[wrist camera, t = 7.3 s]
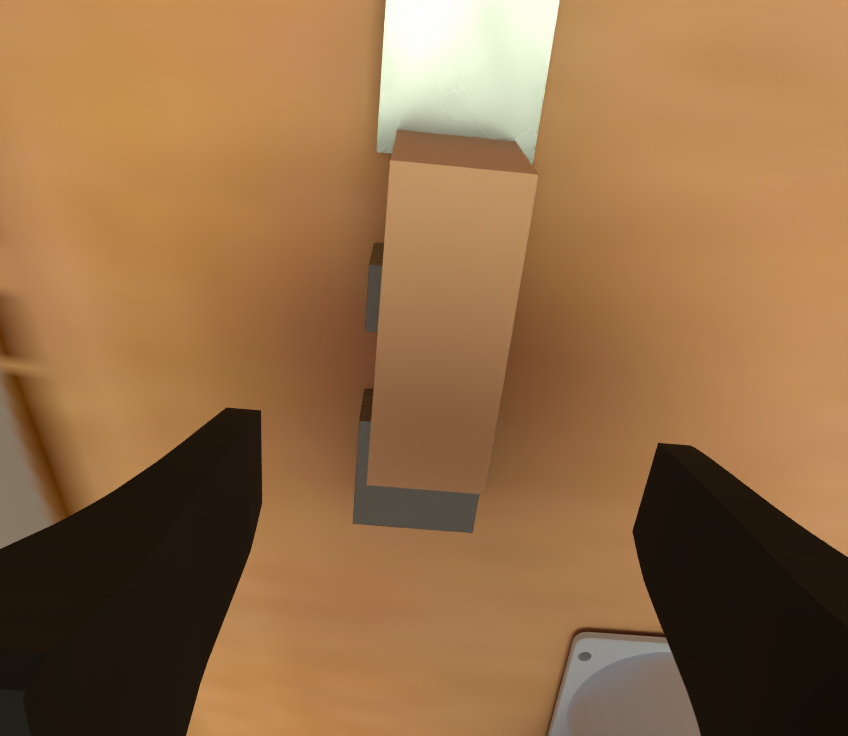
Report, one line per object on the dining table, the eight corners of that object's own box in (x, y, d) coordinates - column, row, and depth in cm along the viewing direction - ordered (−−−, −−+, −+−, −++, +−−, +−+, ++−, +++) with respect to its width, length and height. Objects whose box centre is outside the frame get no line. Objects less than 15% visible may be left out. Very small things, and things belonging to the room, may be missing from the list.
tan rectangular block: (471, 382, 23) (485, 494, 18) (380, 374, 23) (366, 485, 18) (507, 129, 19) (538, 174, 14) (400, 118, 19) (390, 160, 14)
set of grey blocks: (469, 495, 25) (472, 532, 23) (357, 486, 25) (352, 523, 23) (547, -7, 18) (560, -9, 16) (391, -25, 18) (387, -29, 16)
